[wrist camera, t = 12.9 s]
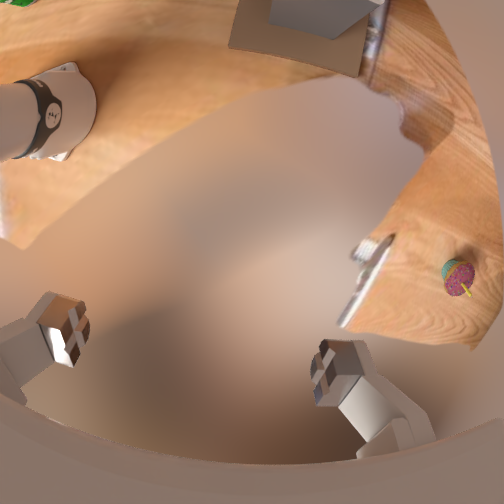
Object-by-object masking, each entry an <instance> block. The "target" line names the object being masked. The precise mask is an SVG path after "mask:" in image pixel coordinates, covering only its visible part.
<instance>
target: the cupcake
mask: <svg viewBox="0 0 504 504" xmlns="http://www.w3.org/2000/svg"><path fill="white" fill-rule="evenodd" d="M474 272H475V270H474V268H473V266H472V265H471V264H470V263H469V262H468V261H466V260H465V261H461V262H458V261H456V260H450V261H448V262H447V263H446V264H445V265H444V266H443V269H442V276H443V279H444V289H445V291H446V292H447V293H448V294H450V295H451V296H460V295H462V294H463V293H465V292H467V293H468V295H469V296H470V297H472V294H471V292H470V291H469V290H468V289H469V288H470V286H471V285H472V283H473V279H474V275H475V274H474Z"/></svg>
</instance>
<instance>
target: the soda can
mask: <svg viewBox="0 0 504 504" xmlns="http://www.w3.org/2000/svg"><path fill="white" fill-rule="evenodd" d="M36 1H37V0H0V2H1V3H7V4H12V5H17V6H21V7H27V6H30V5H31V4H33V3H34V2H36Z"/></svg>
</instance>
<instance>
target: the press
mask: <svg viewBox="0 0 504 504" xmlns="http://www.w3.org/2000/svg"><path fill="white" fill-rule="evenodd" d="M384 2H385V0H239V4H238V8H237V12H236V15H235V19H234V23H233V27H232V31H231V36H230V40H229V44H228V48H230V49H237V50H244V51H250V52H256V53H262V54H267V55H272V56H277V57H282V58H286V59H290V60H295V61H299V62H303V63H306V64H310V65H314V66H317V67H321V68H324V69H328V70H331V71H334V72H337V73H340V74H343V75H346V76H349V77H352V78H357V77H358V73H359V68H360V63H361V58H362V53H363V48H364V43H365V37H366V32H367V26H368V20H369V14H370V12H371V11H373V10H374V9H375V8H377V7H378V6H380V5H381V4H383V3H384Z"/></svg>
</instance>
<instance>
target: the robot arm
mask: <svg viewBox="0 0 504 504" xmlns="http://www.w3.org/2000/svg"><path fill="white" fill-rule="evenodd" d="M65 69H66V71H65ZM95 114H96V96H95V92H94V89H93V87H92V85H91V84H90V82H89V81H88V80H87V79H86V78H85V77H84V76H82V75H81V74H80V72H79V69H78V67H77V65H76V63H74V62H69V63H66V64H63V65H61V66H58V67H56V68H53V69H51V70H48V71H45V72H44V73H41V74H39V75H37V76H35V77H32V78H30V79H25V80H19V81H16V82H14V83H11V84H0V163H2V162H4V161H7V160H9V159H18V158H24V157H28V156H29V155H30V159H36V158H37V159H38V160H41V159H45V158H50V159H53V160H56V161H64V160H66V159H67V157H68V156H69V154H70V152H71V150H72V149H73V148H74V147H75V146H76V145H78V144H79V143H80V142H81V141H82V140H83V139H84V138H85V137H86V136H87V134H88V133H89V131H90V129H91V127H92V124H93V122H94V118H95ZM85 311H86V306H85V303H84V302H83V301H81V300H77V299H74V298H71V297H67V296H64V295H61V294H57V293H54V292H51V291H48V292H46V293H45V294H44V295H43V296H42V297H41V299H40V300H39V301H38V302H37V304H36V305H35V306H34V308H33V309H32V310H31V311H30V313H29V314H28V316H27V317H26V318H25V319H23V318H21V319H18V320H16V321H14V322H12V323H10V324H8V325H6V326H4V327H2V328H0V504H504V419H502V418H495V419H493V420H490V421H488V422H486V423H484V424H481V425H479V426H477V427H474V428H472V429H469V430H466V431H464V432H461V433H458V434H456V435H453V436H450V437H447V438H444V439H441V440H438V441H437V440H436V437H435V435H434V432H433V429H432V427H431V424H430V421H429V419H428V417H427V414H426V412H425V411H424V410H422V409H421V408H420V407H419V406H418V405H416V404H415V403H414V402H413V401H412V400H411V399H409V398H408V397H407V396H406V395H405V394H403V393H402V392H401V391H400V390H399V389H398V388H397V387H395V386H394V385H393V384H392V383H391V382H390V381H388V380H387V379H386V378H385V377H383V375H378V372H377V370H376V367H375V365H374V362H373V359H372V357H371V354H370V352H369V350H368V347H367V345H366V343H365V342H364V341H360V340H333V339H324V340H323V341H322V342H321V344H320V345H319V350H320V352H319V353H317V354H316V355H314V358H313V360H312V363H311V368H310V375H311V380H312V381H313V382H314V384H315V385H316V387H315V389H314V390H313V392H314V397H315V402H316V406H339V409H340V410H341V411H342V412H343V414H344V415H345V416H346V417H347V419H348V420H349V421H350V422H351V423H352V425H353V426H354V427H355V428H356V429H357V431H358V432H359V433H360V434H361V435H362V437H363V438H364V439H365V440H366V441H367V443H366V444H365V445H364V446H363V447H362V448H360V449H359V450H358V452H357V453H356V454H357V459H354V460H347V461H338V462H328V463H317V464H299V465H252V464H234V463H221V462H212V461H204V460H195V459H189V458H183V457H177V456H171V455H166V454H161V453H156V452H152V451H147V450H143V449H139V448H134V447H131V446H127V445H124V444H120V443H116V442H113V441H110V440H107V439H103V438H100V437H97V436H94V435H91V434H89V433H86V432H83V431H80V430H78V429H75V428H72V427H70V426H67V425H65V424H62V423H60V422H58V421H55V420H53V419H51V418H49V417H46V416H44V415H42V414H40V413H38V412H35V411H34V410H32V409H29V408H28V407H25V405H26V403H27V398H26V396H25V395H24V393H23V392H22V390H21V389H20V388H21V387H22V386H23V385H25V384H26V383H27V382H29V381H30V380H31V379H33V378H34V377H35V376H37V375H38V374H39V373H41V372H42V371H43V370H45V369H46V368H47V367H49V366H50V365H52V364H53V363H54V361H55V362H58V363H61V364H64V365H67V366H70V367H74V366H75V364H76V362H77V360H78V358H79V356H80V350H79V348H80V347H82V346H84V345H85V344H86V342H87V340H88V338H89V333H90V323H89V319H88V318H87V317H86V316H85V315H84V313H85Z"/></svg>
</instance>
